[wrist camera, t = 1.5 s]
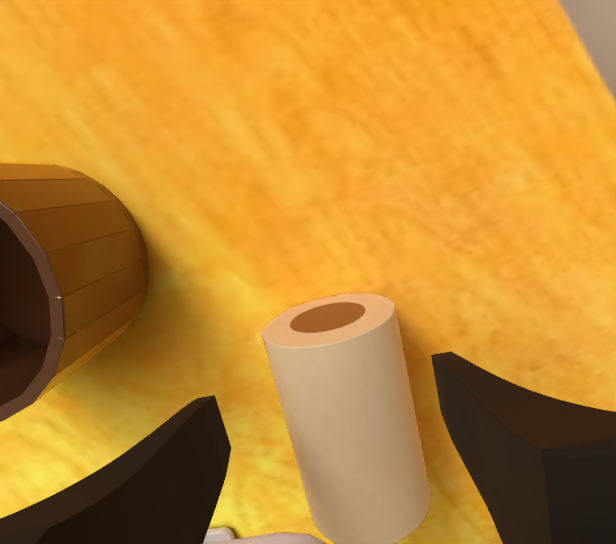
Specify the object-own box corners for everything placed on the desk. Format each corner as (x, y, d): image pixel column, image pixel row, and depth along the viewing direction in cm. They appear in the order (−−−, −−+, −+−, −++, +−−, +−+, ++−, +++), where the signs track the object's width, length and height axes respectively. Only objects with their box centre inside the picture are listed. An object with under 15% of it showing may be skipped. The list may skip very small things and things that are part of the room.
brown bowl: (173, 331, 20) (103, 403, 14) (6, 365, 21) (-129, 446, 15) (111, 142, 18) (-4, 125, 12) (-71, 189, 19) (-265, 196, 13)
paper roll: (411, 444, 21) (449, 534, 16) (308, 466, 22) (312, 563, 16) (380, 284, 19) (411, 325, 14) (267, 309, 20) (254, 360, 14)
